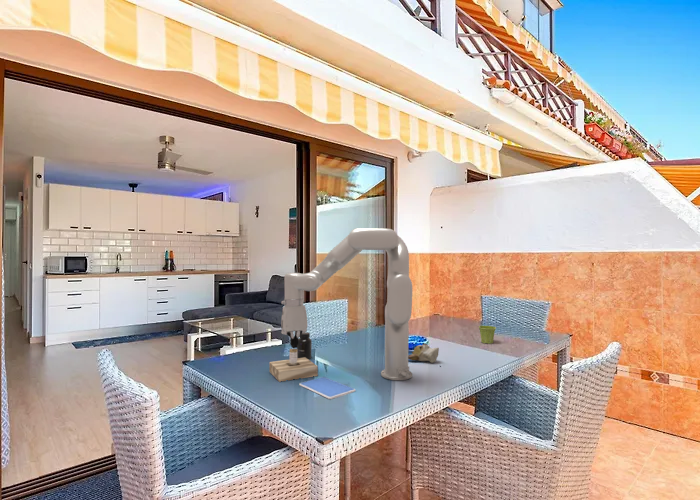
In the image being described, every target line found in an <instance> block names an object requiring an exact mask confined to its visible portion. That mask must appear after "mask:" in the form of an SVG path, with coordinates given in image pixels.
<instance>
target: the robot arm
mask: <svg viewBox="0 0 700 500" xmlns="http://www.w3.org/2000/svg"><path fill="white" fill-rule="evenodd" d="M362 251H385V252H386V253H387V257H388V259H387V267H388V268H387V269H388V270H387V279H386V288H387V296H386V297H387V299H386V301H387V302H386V303H385V304H386V305H385V307H384V324H385V325H384V329H385V330H384V334H385V335H384V369H382V370H381V372H380V376H381V377H382V378H383V379H387V380H390V381H391V380H392V381H405V380H406V381H407V380H409V379H411V378H412V377H413V372H412V371H410V366H409V359H408V355H409V337H410V336H409V334H410V333H409V332H410V330H409V321H410V319H411V318H412V310H413V282H412V279H411V278H410V254H409V253H410V252H409V249H408V246H407V244H406V243H405V241H404V240H403V239H402V238H401V237H400V236H399V235H398V233H397V232H396V231H395V230H393V229H392V228H371V227H370V228H366V227H364V228H363V227H356V228H353V229H351V231H349V234H348V235H347V236H345V238H342V240H341V241H340V242H339V243H338V244H336V246H334V247H333V248H332V249H331V250H330V251H329V252H328V254H327V255H326V257H325V258H324V259H323V260H322V261H321V262H319V264H317V265H316V266H315V267H314V268H313V269H312V270H310V272H306V273H300V272H287V273H286V274H285V275H284V299H283V300H281V305H284V306H283V307H282V312H281V321H280V322H281V323H280V324H281V325H280V326H281V332H280V333H281V334H282V335H285V336H288V337H289V338H290V339H289V341H290V342H289V345H290V346H291V348H292V349H297V347H298V346H297V345H298V339H299V338H300V337H299V336H300V335H301V334H302V333H304V332H307V331H308V315H307V307H306V305H304V291H305V292H314V291H317V290H318V289H319V288H320V287H321V286H322V285H324V283H326V282H327V281H328V280H329V279H330V278H331V277H332V276H333V275H334V274H336V273H337V272H338V271H340V270H342V269H343V268H345V266H346V265H348V264H349V263H350V262H351V260H353V259H355V257H357V255H359V254H360V252H362Z"/></svg>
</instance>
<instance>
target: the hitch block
mask: <svg viewBox="0 0 700 500" xmlns="http://www.w3.org/2000/svg"><path fill="white" fill-rule="evenodd" d="M318 367H319V366H318V365H317V364H315V363H314V362H312V361H311V359H309V360H308V359H307V358H297V366H289V359H283V360H276V361H269V373H270V374H271V376H273V377H274V378H275V379H276V380H277V381H278V382H279V383H280V382H281V381H282V382H286V380H288V381H294V380H293V379H295V380H300V379H299V378H301V379H305V378H306V379H308V378H311V377H312V378H313V376H314V377H318V375H319V374H318V373H319V372H318V371H319V370H318Z"/></svg>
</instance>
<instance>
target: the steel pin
mask: <svg viewBox="0 0 700 500" xmlns="http://www.w3.org/2000/svg"><path fill="white" fill-rule="evenodd" d="M288 357H289V359H288V360H289V366H297V348H289V356H288Z"/></svg>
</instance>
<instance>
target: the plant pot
mask: <svg viewBox="0 0 700 500" xmlns="http://www.w3.org/2000/svg"><path fill="white" fill-rule="evenodd" d="M478 329H479V333H480V340H481V343H482V344H489V345H490V344H491V345H492V344H493V343H494V340H495V339H494V338H495V332H496V329H497V327H496V326H493V325H479V326H478Z"/></svg>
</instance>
